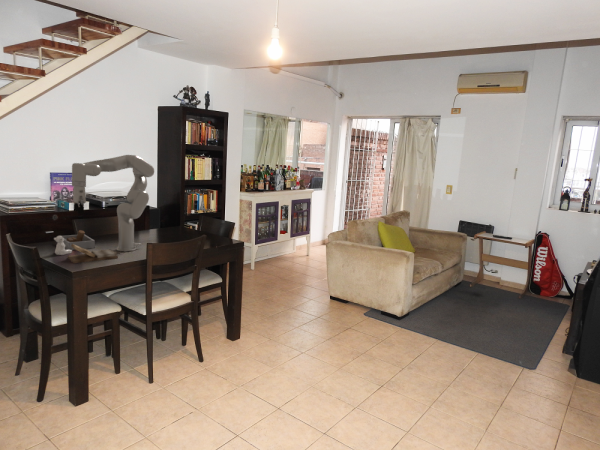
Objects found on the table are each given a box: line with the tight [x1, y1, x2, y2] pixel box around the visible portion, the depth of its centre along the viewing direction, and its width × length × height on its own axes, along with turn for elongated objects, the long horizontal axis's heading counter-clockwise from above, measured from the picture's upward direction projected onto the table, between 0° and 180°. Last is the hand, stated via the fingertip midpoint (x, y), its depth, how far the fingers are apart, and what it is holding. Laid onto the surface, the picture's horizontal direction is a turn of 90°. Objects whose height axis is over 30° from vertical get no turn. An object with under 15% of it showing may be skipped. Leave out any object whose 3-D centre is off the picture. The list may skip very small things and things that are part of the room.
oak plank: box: [71, 244, 95, 257], centre depth 260 cm, size 11×12×2 cm
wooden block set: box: [67, 229, 86, 242], centre depth 293 cm, size 18×9×10 cm, turn 152°
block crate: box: [61, 234, 96, 251], centre depth 293 cm, size 16×24×5 cm, turn 41°
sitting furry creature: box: [53, 235, 73, 256], centre depth 268 cm, size 10×9×12 cm
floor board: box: [67, 248, 119, 264], centre depth 264 cm, size 25×14×3 cm, turn 132°
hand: (78, 212), depth 259 cm, fingers open, 9 cm apart
